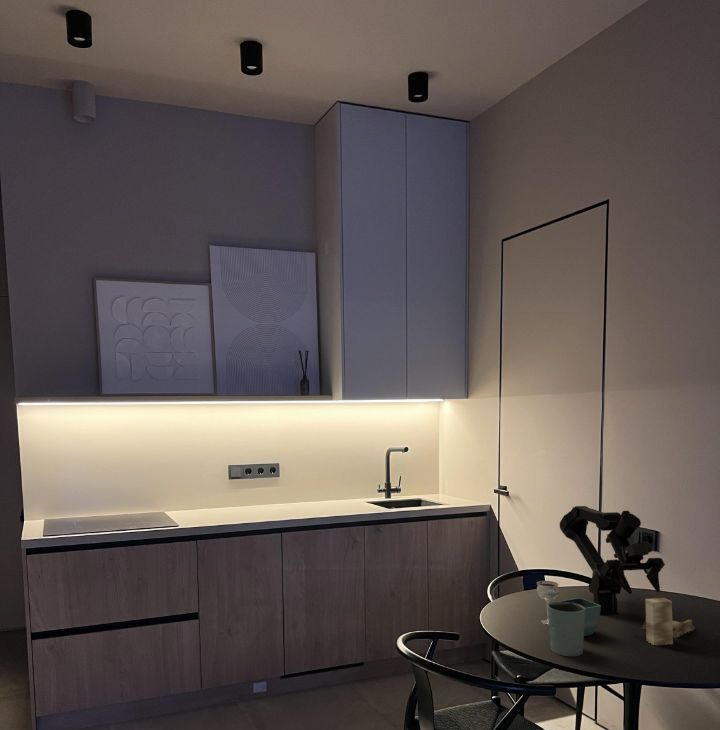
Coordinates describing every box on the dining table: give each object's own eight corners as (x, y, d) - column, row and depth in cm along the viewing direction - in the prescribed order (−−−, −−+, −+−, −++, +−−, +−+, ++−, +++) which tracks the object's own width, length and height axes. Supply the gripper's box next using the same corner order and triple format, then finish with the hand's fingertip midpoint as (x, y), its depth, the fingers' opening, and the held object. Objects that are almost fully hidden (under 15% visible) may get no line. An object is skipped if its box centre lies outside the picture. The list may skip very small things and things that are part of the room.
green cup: (546, 654, 181) (545, 609, 182) (549, 641, 191) (549, 599, 191) (585, 659, 178) (584, 613, 178) (587, 646, 187) (586, 603, 188)
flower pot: (578, 640, 192) (578, 609, 192) (558, 631, 200) (557, 600, 200) (602, 636, 195) (601, 605, 196) (581, 627, 203) (580, 597, 204)
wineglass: (535, 624, 206) (534, 584, 207) (539, 617, 212) (538, 579, 213) (557, 627, 203) (556, 587, 204) (561, 620, 209) (560, 582, 210)
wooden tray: (675, 638, 194) (675, 629, 194) (642, 629, 202) (642, 620, 202) (694, 629, 201) (694, 621, 201) (662, 621, 209) (662, 612, 209)
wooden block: (654, 645, 188) (652, 602, 189) (646, 641, 191) (645, 598, 192) (673, 644, 189) (671, 601, 190) (665, 639, 192) (664, 597, 193)
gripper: (605, 533, 202) (627, 579, 190) (660, 531, 205) (685, 576, 194) (592, 553, 209) (612, 599, 197) (645, 551, 212) (668, 596, 201)
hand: (645, 592), depth 197 cm, fingers open, 9 cm apart
